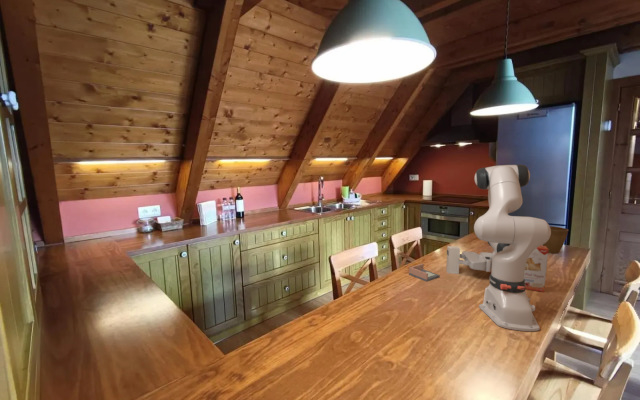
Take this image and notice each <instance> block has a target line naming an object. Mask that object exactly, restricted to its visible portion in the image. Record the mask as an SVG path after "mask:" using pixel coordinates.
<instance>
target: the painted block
mask: <svg viewBox="0 0 640 400" xmlns="http://www.w3.org/2000/svg"><path fill="white" fill-rule="evenodd" d="M460 254H461V248H460V247H459V246H456V245H455V246H452V245H447V248H446V265H445V266H446V269H445V270H446V273H447V274H450V273H451V274H453V275H459V274H460V264H459V260H461V258H460Z"/></svg>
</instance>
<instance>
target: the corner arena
mask: <svg viewBox="0 0 640 400" xmlns="http://www.w3.org/2000/svg"><path fill="white" fill-rule="evenodd" d="M424 265H425V264H423V263H419V264H416V265H413V266H412V265H411V266H409V267H408V275H410V276H412V277H414V278H416V279H420V280H421V281H424V282H429V281H432V280H434V279H438V278H440V275H439V274H438V273H435V272H432V271H429V270H427V269H424Z"/></svg>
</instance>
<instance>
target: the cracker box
mask: <svg viewBox="0 0 640 400" xmlns="http://www.w3.org/2000/svg"><path fill="white" fill-rule="evenodd" d="M548 251H549V249H548V248H547V247H546V246H543V245H541V246H539V247H537V248H536V249H535V250H534V251H533V252H532V253H531V254H530V255H529V257H528V259H527V261H526V265H525V271H524V280H525V289H526V290H528V291H529V290H530V291H536V292H541V293H544V292H545V287H546V275H547V269H548V261H549V260H548V259H549V253H548Z"/></svg>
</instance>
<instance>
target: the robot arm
mask: <svg viewBox="0 0 640 400" xmlns="http://www.w3.org/2000/svg"><path fill="white" fill-rule="evenodd" d="M473 177H474V183H475V185H476V187H477V188H478V189H479V190H488V191H487V193H488V195H487V200H488V207H489V208H488V210H487V211H486V212H485V213H484V214H483V215H481V216H479V217H478V218H477V219H476V220H475V222H474V224H473V232H474V233H475V237H476V238H477V239H479V241H480V240H481V241H483V242H487V244H488V245H489V246H490V247H491V248H492V249H493V251H492V252H487V251H485V252H484V251H481V252H480V253H479V254H478V253H477V252H476V251H466V250H465V251H462V253H460V260H459V265H464V266H468V267H469V268H470V269H471V270H474V271H485V272H486V273H487V272H489V273H490V272H491V273H490V274H489V277H488V278H489V285H488V286H486V287H485V289H484V296H483V303H479V306H478V308H480V310H481V311H482V312H483V313H484V314H485V315H486V316H487V317H488V318H490V320H492V322H493V323H495V325H496V326H498V327H501V328H505V329H508V330H514V331H520V332H521V331H523V332H537V331H540V330H541V328H540V325H539V324H538V321H537V318H536V317H535V315H534V314H533V312H535V311H536V306H535V304H531V303H530V301H531V297H528V294H527V293H526V290H527V289H525V280H524V271H525V265H526V261H527V259H528V257H529V255H530V254H531V253H532V252H533V251H534V250H535V249H536V248H537V247H539V246H543V245H542V244H545V243H546V242H547V241H548V240H549V238H550V235H551V229H550V226H551V225H549V223H548V222H547V221H546V220H545V219H543V218H538V217H532V216H519V215H517V216H516V215H509V214H511V213H514V212H516V211H517V210H519V209H520V208H521V206H522V205H523V202H524V201H523V200H524V199H523V196H522V189H521V188H523V187H525V186H527V185H528V184H529V183H530V182H529V181H530V177H531V172H530V170H529V169H528V167H527V165H525V164H519V163H518V164H503V165H501V164H499V165H493V166H487V167H480V168H478V169H477V170H476V172H475V174H474V176H473Z"/></svg>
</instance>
